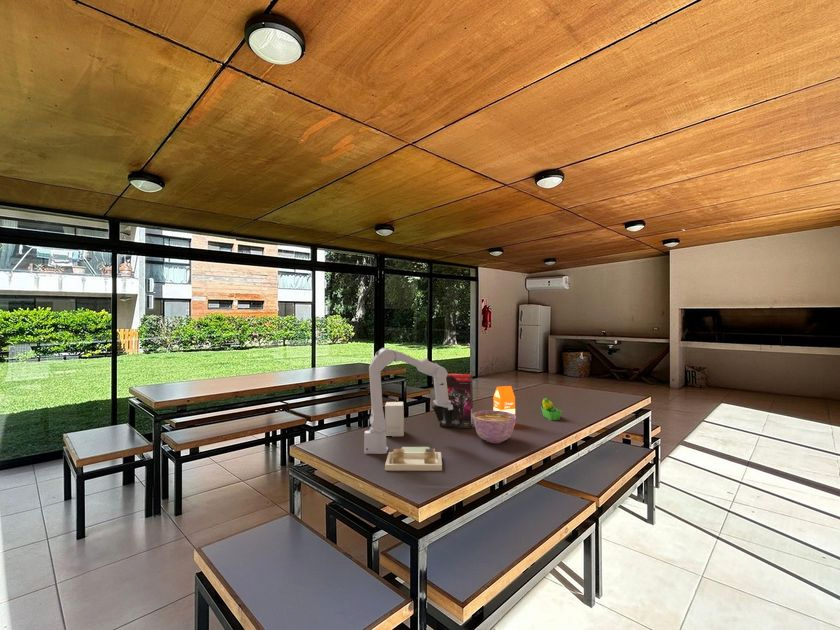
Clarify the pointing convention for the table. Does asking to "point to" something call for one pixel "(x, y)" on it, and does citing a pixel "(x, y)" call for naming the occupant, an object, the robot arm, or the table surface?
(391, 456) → the tray
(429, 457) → the labelled block
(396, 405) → the supplement box
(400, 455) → the plain block
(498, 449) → the table surface
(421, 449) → the pad
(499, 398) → the orange juice
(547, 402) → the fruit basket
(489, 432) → the bowl of food
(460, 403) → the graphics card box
